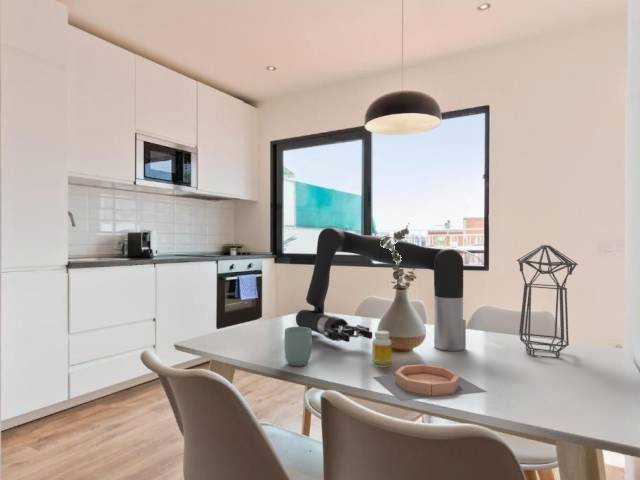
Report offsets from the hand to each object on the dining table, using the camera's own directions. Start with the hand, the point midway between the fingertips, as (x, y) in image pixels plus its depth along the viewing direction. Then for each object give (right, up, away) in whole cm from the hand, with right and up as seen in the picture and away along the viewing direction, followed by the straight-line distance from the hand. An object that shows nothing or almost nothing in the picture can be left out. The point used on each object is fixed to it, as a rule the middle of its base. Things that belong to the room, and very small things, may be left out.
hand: (360, 336), depth 124 cm
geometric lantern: (+60, -7, +4) cm, 60 cm away
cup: (-19, -6, -8) cm, 21 cm away
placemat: (+14, -6, -26) cm, 30 cm away
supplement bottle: (+5, -6, -9) cm, 12 cm away
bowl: (+14, -5, -26) cm, 30 cm away
